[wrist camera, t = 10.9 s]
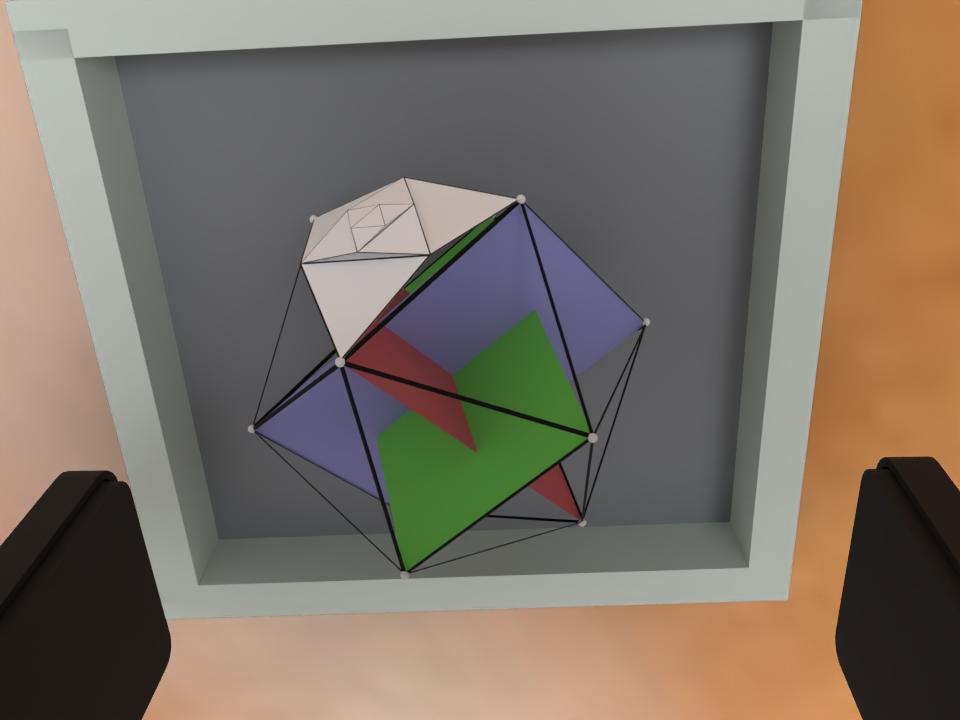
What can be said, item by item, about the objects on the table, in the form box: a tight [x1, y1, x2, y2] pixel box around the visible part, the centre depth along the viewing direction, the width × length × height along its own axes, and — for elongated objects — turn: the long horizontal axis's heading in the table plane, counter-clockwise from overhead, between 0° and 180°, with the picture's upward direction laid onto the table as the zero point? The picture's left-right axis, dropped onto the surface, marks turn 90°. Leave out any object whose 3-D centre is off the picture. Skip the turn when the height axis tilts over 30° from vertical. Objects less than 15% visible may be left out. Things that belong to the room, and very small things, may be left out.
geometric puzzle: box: [248, 177, 650, 580], centre depth 17 cm, size 7×7×8 cm
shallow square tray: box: [4, 0, 863, 619], centre depth 20 cm, size 16×15×3 cm
